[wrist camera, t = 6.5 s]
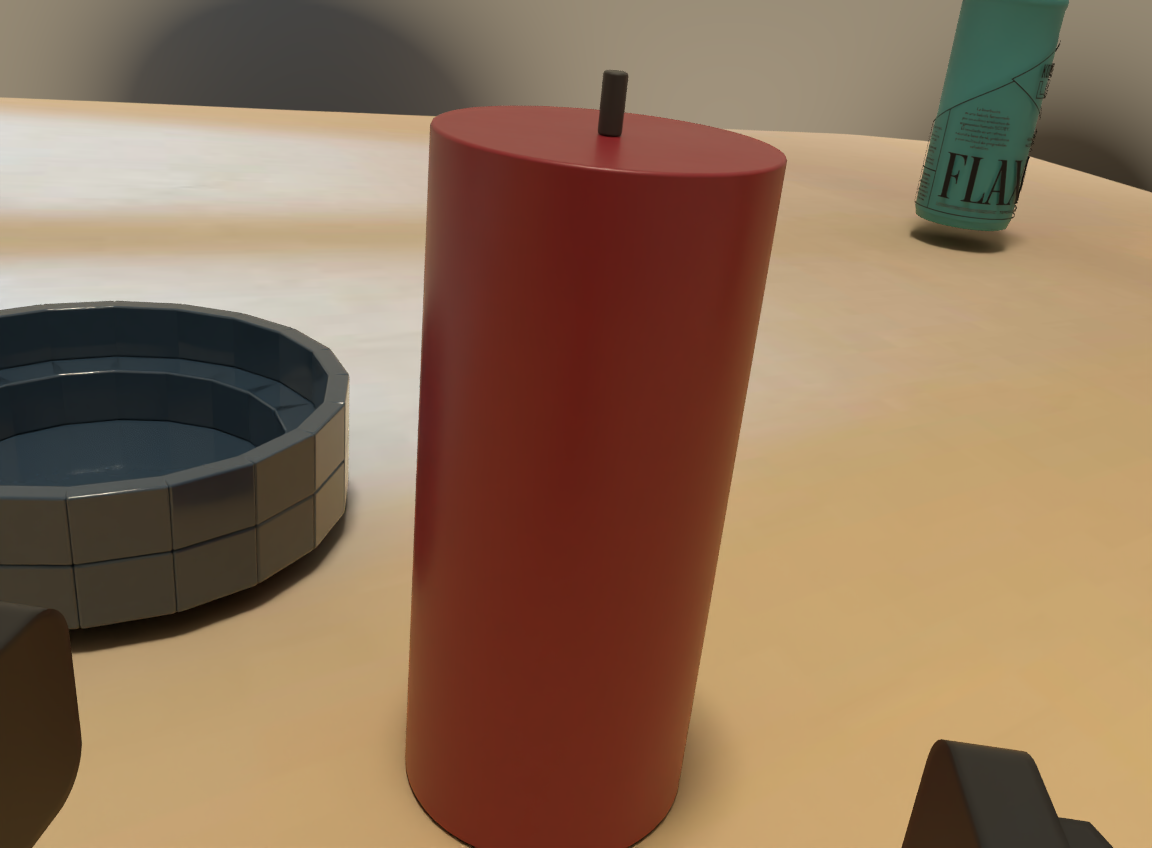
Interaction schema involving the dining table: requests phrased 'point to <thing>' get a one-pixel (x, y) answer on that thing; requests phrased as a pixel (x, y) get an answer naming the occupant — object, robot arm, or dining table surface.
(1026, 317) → the dining table surface
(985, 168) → the beverage bottle
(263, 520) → the bowl
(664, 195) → the candle
